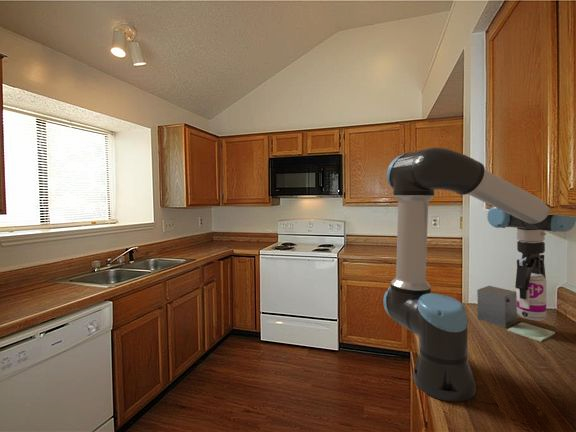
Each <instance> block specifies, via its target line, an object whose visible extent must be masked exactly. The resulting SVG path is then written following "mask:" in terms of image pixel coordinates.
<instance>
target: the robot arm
mask: <svg viewBox="0 0 576 432" xmlns="http://www.w3.org/2000/svg"><path fill="white" fill-rule="evenodd" d="M386 180H387V183H388V185H389V186H390V187H391V188H392V190H393V192H392V193H393V198H394V199H395V200H396V201H397V203H398V204H397V230H396V231H397V233H396V235H397V236H396V237H397V238H396V240H397V241H396V265H395V266H396V268H395V278H394V279H392V280H391V281H390V286H389V287H388V288H387V291H385V293H384V295H383V307H384V310H385V312H386V314H387V316H389V317H390V318H391V319H392V320H393V321H394V322H395V323H396V324H397V325H398V324H399V325H401V326H402V327H404V328H405V329H407V330H408V331H410V332H412V333H413V334H415V335H416V336H417V337H418V338H419V341H418V342H419V343H418V344H419V353H418V355H417V359H416V363H415V365H414V368H413V381H414V384H415V385H416V387H417V388H418V389H419V390H421V391H422V392H423V393H424V394H426V395H428V396H430V397H432V398H434V399H438V400H441V401H444V402H451V403H452V402H454V403H457V402H460V403H462V402H466V401H469V400H471V399H472V398H473V397H475V395H476V392H477V391H476V390H477V389H476V387H477V386H476V385H477V383H476V380H475V378H474V375H473V372H472V369H471V366H470V363H469V361H468V324H469V323H468V317H467V309H466V307H465V305H464V304H463V303H462V302H461V301H459V300H458V299H456V298H454V297H452V296H451V295H447V294H441V293H435V292H434V293H433V292H431V290H432V289H431V288H432V286H431V284H430V283H429V282H428V281H427V280H426V278H427V277H426V276H427V252H428V251H427V250H428V249H427V248H428V246H427V245H428V220H429V202H430V201H431V200H432V199H433V198H435V190H436V191H437V190H441V191H450V192H453V193H456V194H457V195H461V196H467V195H469V196H470V197H473V198H474V199H477V200H479V201H482V202H483V203H486V204H487V205H490V206H492V207H490V208H489V210H488V211H487V215H486V216H487V221H488V223H489V225H490V226H492V227H493V228H497V229H500V228H502V229H505V228H516V239H517V242H516V246H517V247H516V248H517V249H516V250H517V252H518V253H521V254H522V255H521V259H517V260H516V267H517V268H516V275H515V286H514V287H515V289H516V288H518V289H519V303H520V307H523V308H527V309H530V290H528V286H529V281H530V277H531V273H535V274H542V275H544V278H545V279H547V278H546V270H545V269H546V267H545V254H544V253H545V251H546V243H545V242H544V241H545V236H546V235H547V233H546V232H553V233H556V232H558V233H566V232H569V231H571V230H572V229H573V228H574V227H575V225H576V217H570V216H558V215H548V213H549V210H550V208H549V207H548V206H547V205H545V204H544V202H543V201H542V200H541V199H540V198H538V197H536V195H534V194H532V193H530V192H528V191H526V190H525V189H523V188H520V187H519V186H517V185H514V184H512V183H511V182H509V181H507V180H505V179H504V178H501V177H500V176H498V175H495V174H494V173H492V172H490V171H488V170H486V168H485V165H484V164H483V163H482V162H480V161H478V160H476V159H474V158H472V157H470V156H468V155H466V154H463V153H461V152H458V151H455V150H453V149H451V148H450V149H449V148H446V147H445V148H444V147H430V148H429V147H428V148H426V149H421V150H416V151H410V152H406V153H403V154H400V155H398V156H396V157H395V158H394V159H393V160H392V161H391V162H390V163H389V165H388V168H387V172H386Z"/></svg>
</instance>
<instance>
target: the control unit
mask: <svg viewBox="0 0 576 432" xmlns="http://www.w3.org/2000/svg"><path fill="white" fill-rule="evenodd" d="M476 291H477V294H476V295H477V320H479V319H481V320H480V321H482V320H484V321H483V322H485V321H487V322H486V323H488V322H490V323H489V324H491V323H494V324H497V325H500V326H503V327H505V328H504V329H507V328H509V327H511V326H513V325H515V324H517V323H518V314H517V295H516V290H515V291H514V290H510V289H506V288H501V287H496V286H492V285H487V286H483V287H481V288H479V289H477V290H476ZM516 322H517V323H516ZM514 323H515V324H514ZM494 324H493V325H494ZM512 324H513V325H512ZM497 325H496V326H497ZM510 325H511V326H510ZM500 326H499V327H500ZM508 326H509V327H508ZM503 327H502V328H503ZM506 327H507V328H506Z"/></svg>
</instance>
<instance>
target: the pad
mask: <svg viewBox="0 0 576 432" xmlns="http://www.w3.org/2000/svg"><path fill="white" fill-rule="evenodd" d="M507 331H508V332H510V331H511V332H510V333H513V334H516V335H520V336H522V337H526V338H527V339H531V340H534V341H537V342H542V341H545V340H547V339H548V338H550V337H552V336H554V335H555V334H556V332H555V331H554V330H553V331H552V330H550V329H546V328H543V327H539V326H536V325H533V324H530V323H527V322H520V323H516V324H514V326H513V325H512V327H511V326H510V327H508V328H507Z"/></svg>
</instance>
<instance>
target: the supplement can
mask: <svg viewBox="0 0 576 432" xmlns="http://www.w3.org/2000/svg"><path fill="white" fill-rule="evenodd" d="M546 279H547V278H546ZM546 279H545V278H544V275H542V274H535V273H531V277H530V281H529V286H528V290H530V309H527V308H523V307H520V303H519V289H518V288H516V287H515V289H516V290H515V292H516V295H517V315H518V316H519V317H521V318H523V319H526V320H529V321H543V320H545V319H547V280H546Z"/></svg>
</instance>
